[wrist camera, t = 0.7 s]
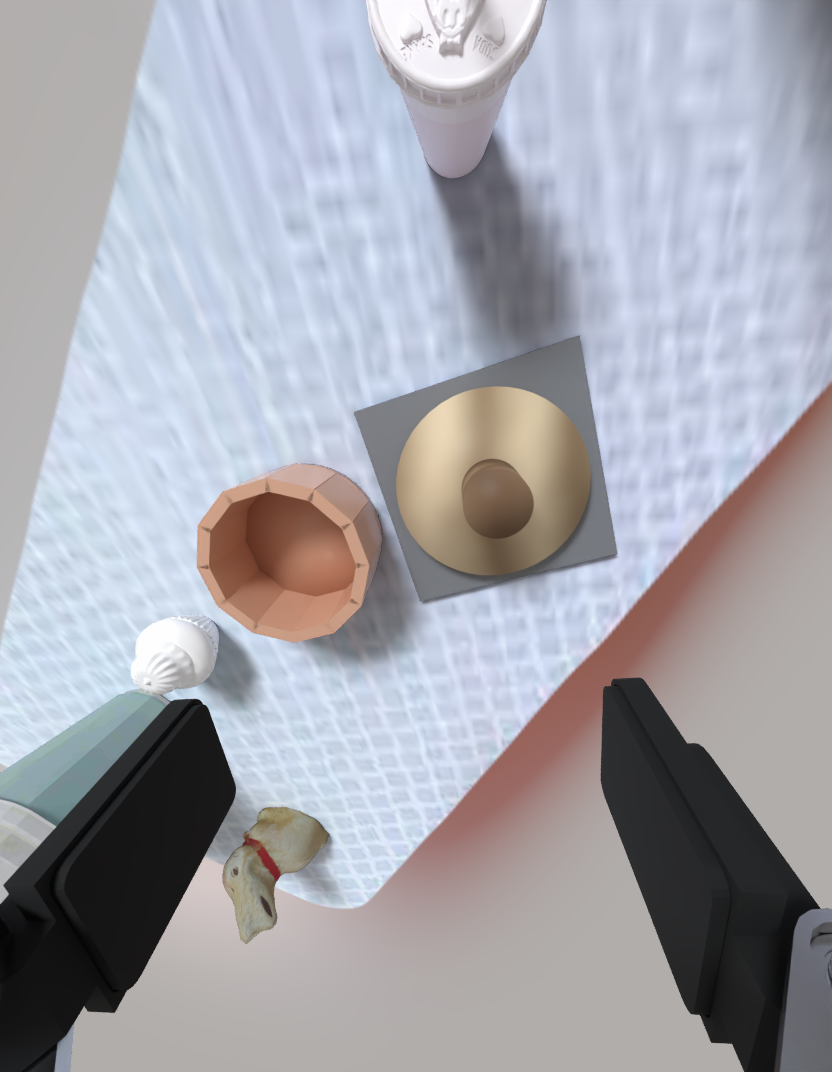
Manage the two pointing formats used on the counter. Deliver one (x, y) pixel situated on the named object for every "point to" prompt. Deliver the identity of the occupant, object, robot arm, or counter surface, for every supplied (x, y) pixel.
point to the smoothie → (454, 68)
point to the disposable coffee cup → (65, 774)
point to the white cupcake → (175, 654)
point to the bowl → (290, 551)
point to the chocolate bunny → (268, 864)
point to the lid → (493, 480)
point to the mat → (538, 372)
